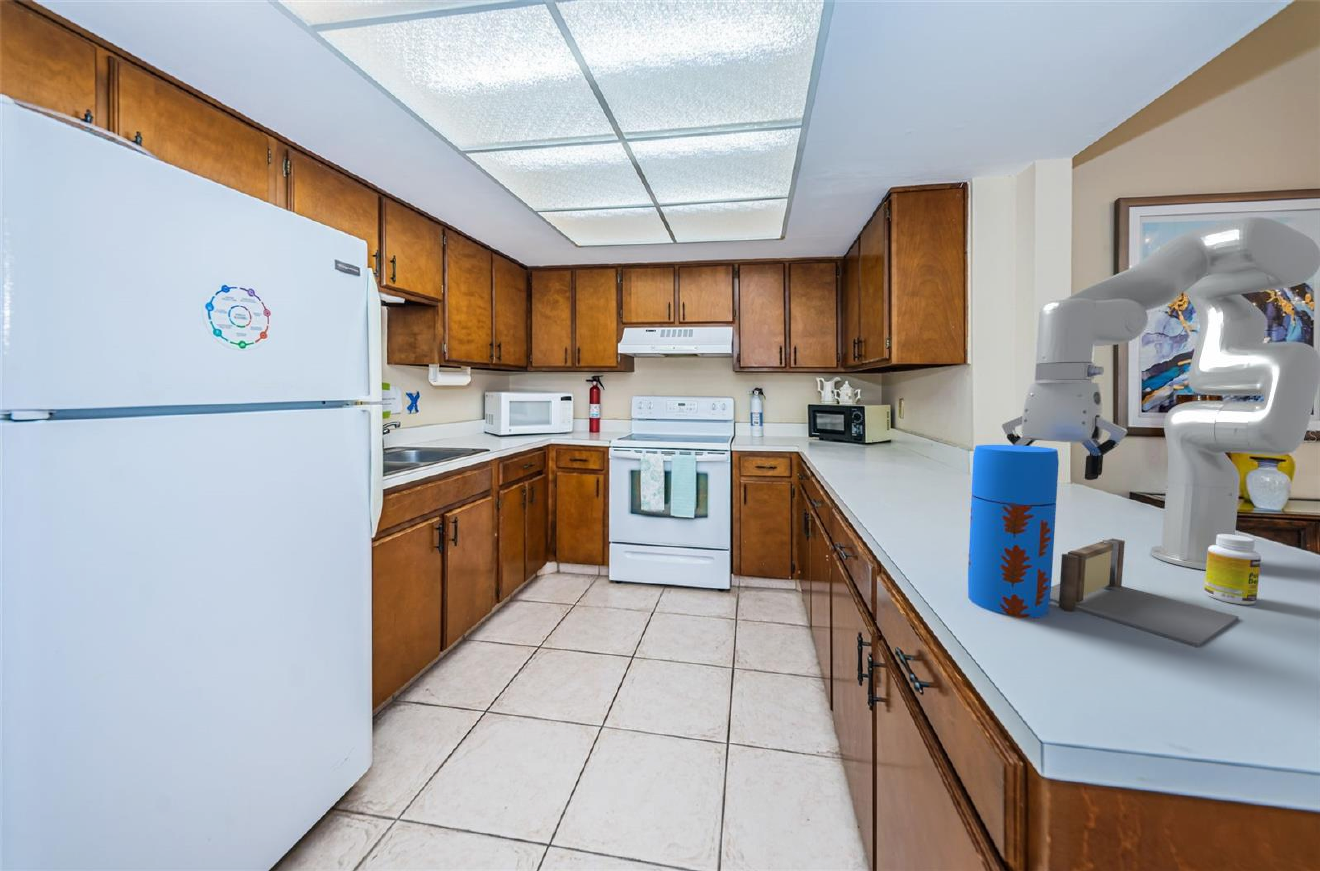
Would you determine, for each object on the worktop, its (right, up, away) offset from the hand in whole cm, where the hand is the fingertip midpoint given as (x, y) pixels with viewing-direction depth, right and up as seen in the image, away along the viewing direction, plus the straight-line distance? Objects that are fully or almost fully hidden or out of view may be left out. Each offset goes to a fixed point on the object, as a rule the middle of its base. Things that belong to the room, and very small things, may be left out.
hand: (1056, 475), depth 84 cm
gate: (+3, -19, -4) cm, 19 cm away
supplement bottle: (+24, -20, -5) cm, 32 cm away
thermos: (-13, -20, -6) cm, 25 cm away
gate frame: (+6, -20, -8) cm, 22 cm away
